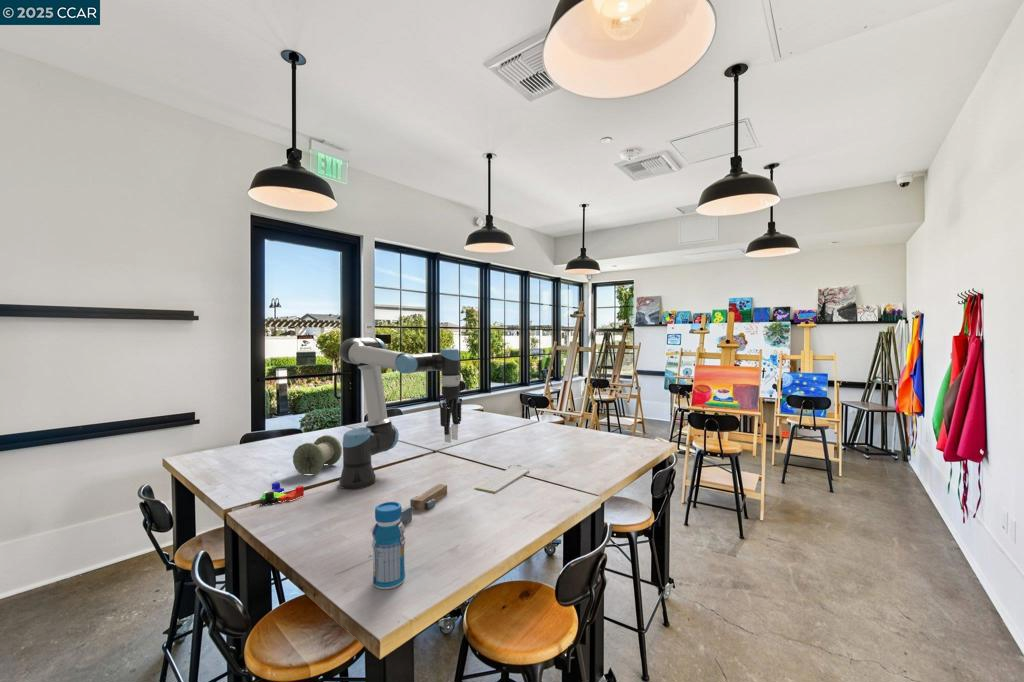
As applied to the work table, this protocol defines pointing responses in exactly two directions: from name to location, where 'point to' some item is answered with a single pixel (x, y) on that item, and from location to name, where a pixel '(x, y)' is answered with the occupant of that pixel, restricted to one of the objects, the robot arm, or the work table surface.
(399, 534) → the beverage bottle
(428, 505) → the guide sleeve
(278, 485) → the building blocks
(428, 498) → the brown wooden bar
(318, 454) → the spool
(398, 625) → the work table surface
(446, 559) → the work table surface
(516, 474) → the baseboard
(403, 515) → the end cap
